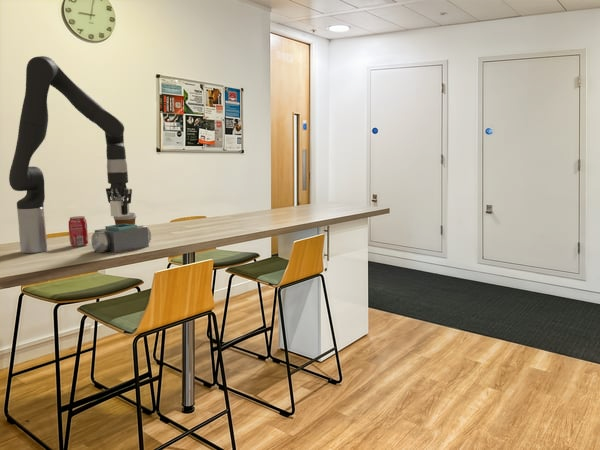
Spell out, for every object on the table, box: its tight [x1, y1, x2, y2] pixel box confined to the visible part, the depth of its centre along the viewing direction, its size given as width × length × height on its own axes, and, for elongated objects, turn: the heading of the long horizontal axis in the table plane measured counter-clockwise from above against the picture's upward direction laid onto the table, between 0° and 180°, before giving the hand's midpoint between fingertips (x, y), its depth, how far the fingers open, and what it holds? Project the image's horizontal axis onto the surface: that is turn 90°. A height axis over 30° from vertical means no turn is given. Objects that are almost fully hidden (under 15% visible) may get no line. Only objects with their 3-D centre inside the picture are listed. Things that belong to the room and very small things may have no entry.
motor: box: [91, 224, 152, 254], centre depth 204 cm, size 12×22×9 cm, turn 145°
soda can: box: [68, 215, 89, 248], centre depth 212 cm, size 7×7×12 cm
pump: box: [109, 196, 130, 217], centre depth 202 cm, size 5×5×8 cm
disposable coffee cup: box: [112, 212, 137, 225], centre depth 222 cm, size 10×10×12 cm
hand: (120, 214), depth 203 cm, fingers closed on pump, 5 cm apart
